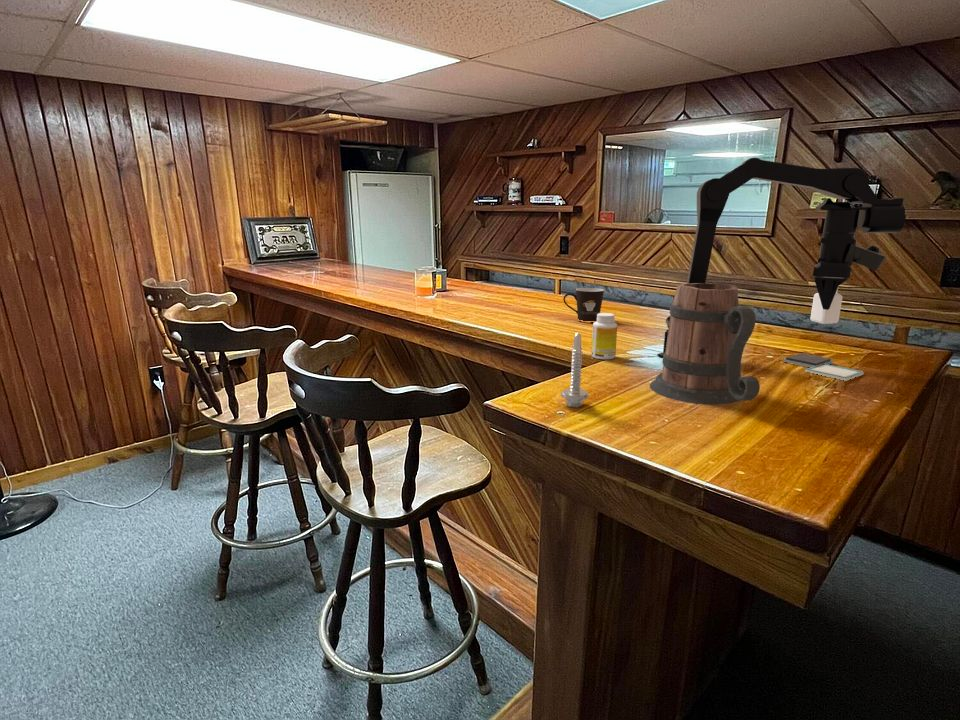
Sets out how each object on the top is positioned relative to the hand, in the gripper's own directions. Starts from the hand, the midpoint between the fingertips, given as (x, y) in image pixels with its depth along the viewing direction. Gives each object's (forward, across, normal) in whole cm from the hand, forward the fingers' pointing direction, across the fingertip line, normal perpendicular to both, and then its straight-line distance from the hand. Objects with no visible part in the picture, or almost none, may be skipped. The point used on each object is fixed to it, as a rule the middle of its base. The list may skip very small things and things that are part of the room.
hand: (826, 307), depth 114 cm
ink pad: (+13, +2, +2) cm, 13 cm away
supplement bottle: (+13, -19, +42) cm, 48 cm away
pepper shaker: (+3, 0, 0) cm, 3 cm away
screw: (+13, -53, +34) cm, 64 cm away
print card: (+13, -4, -3) cm, 14 cm away
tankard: (+13, -34, +16) cm, 40 cm away
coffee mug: (+13, +21, +64) cm, 69 cm away
